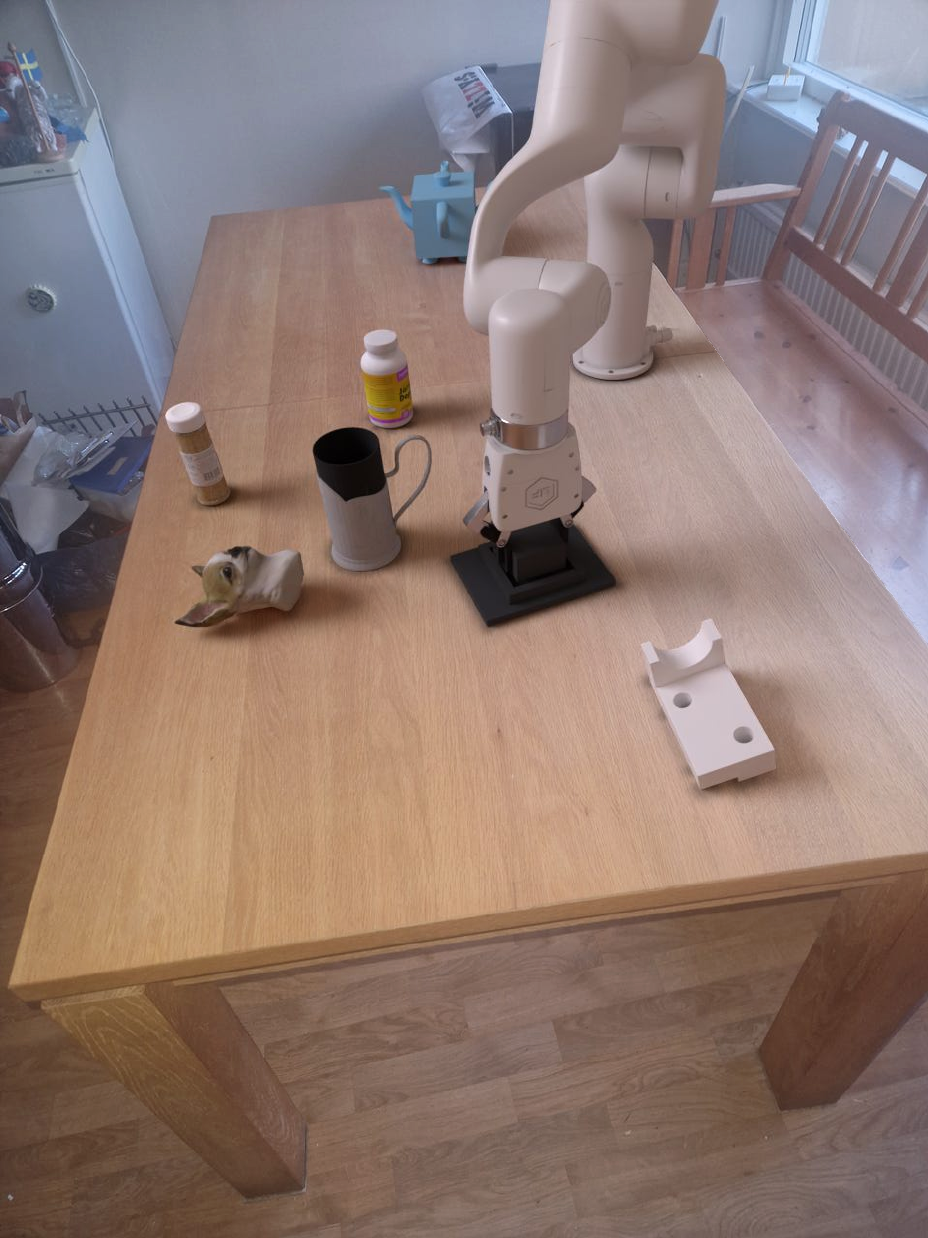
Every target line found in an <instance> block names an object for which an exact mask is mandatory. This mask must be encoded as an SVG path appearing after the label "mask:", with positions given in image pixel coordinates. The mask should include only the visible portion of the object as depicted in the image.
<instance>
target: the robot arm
mask: <svg viewBox="0 0 928 1238" xmlns="http://www.w3.org/2000/svg"><path fill="white" fill-rule="evenodd" d="M719 2H720V0H550V2H549V7H548V8H549V9H548V17H547V23H546V30H545V36H544V43H543V50H542V57H541V64H540V72H539V77H538V83H537V91H536V98H535V104H534V112H533V118H532V126H531V131H530V135H529V138H528V139H527V141H526V142H525V144H524V145H523V146H522V147H521V148H520V150H518V151H517V152H516V153H515V155H513V157H512V158H511V159H510V160H508V162H506V164H505V165H504V166H503V167H502V169H501V170H500V171H499V173H498V174H497V175H496V176H495V178H494V179H493V180H494V181H493V180H492V181H493V182H492V184H491V185H490V187H489V188H488V190H487V192H486V191H485V192H486V193H485V192H484V195H483V197H482V199H481V201H480V202H479V204H480V205H479V204H478V205H479V207H478V210H477V212H476V215H475V217H474V221H473V225H472V229H471V235H470V242H469V249H468V256H467V262H465V263H466V264H465V271H464V279H463V291H462V293H463V295H462V304H463V305H462V307H463V312H464V316H465V319H466V321H467V323H468V325H469V326H470V328H472V330H474V331H475V332H476V333H479V334H481V335H484V336H487V337H488V345H489V346H488V347H489V349H488V350H489V367H490V368H489V371H490V392H491V408H489V415H490V416H489V418H488V419H486V421H483V422H479V432H480V435H481V436H482V437H487V438H486V441H485V447H484V452H483V461H482V475H481V476H482V477H481V496H480V498H479V499H478V500H477V501H476V502H475V503H474V505H473V506H472V507H471V509H470V510H469V511H468V512H467V513H466V515H465V516H464V517H463V519H462V522H463V524H464V526H465V527H466V529H468V530H469V531H471V532H473V533H475V534H477V535H481V537H482V538H484V539H486V540H488V541H492V542H493V556H494V559H495V561H496V563H497V564H501V565H502V567H503V568H504V570H505V571H506V573H508V572H511V570H512V546H511V544H510V542H509V541H508V539H509V536H510V534H511V531H514V530H518V529H521V528H525V527H528V526H532V525H535V524H538V523H542V522H545V521H549V522H550V524H551V525H552V526H553V528H554V529H555V530H556V532H557V533H558V534H559V536H561V538H562V539H563V541H564V542H565V543H568V532H569V527H570V526H572V524H574V519H575V517H576V516H577V515H578V514H579V513H580V512H581V511H582V510H583V508H584V506H585V503H587V502H588V501H589V500H590V499H591V497H592V496H593V495H594V494H595V493H596V491H597V487H596V486H595V485H594V484H593V482H592V481H591V480H590V479H588V478H586V477H585V476H584V475H582V473H583V472H582V462H581V454H580V446H579V445H580V444H579V440H578V435H577V431H576V427H575V426H574V425H573V424H572V423H571V422H570V421H569V411H570V410H569V409H570V408H569V407H570V402H569V401H570V384H571V383H570V382H571V381H570V380H571V379H570V378H571V357H572V363H573V367H575V369H576V370H577V371H579V372H581V374H583V375H586V376H588V377H590V378H594V379H598V380H606V381H619V380H620V381H621V380H628V379H632V378H635V377H638V376H639V375H642V374H644V373H645V372H647V371H648V370H649V369H650V368H651V366H652V364H653V362H654V352H653V350H652V348H653V347H655V346H656V344H659V343H660V344H661V343H666V342H669V341H672V339H673V335H674V334H673V330H672V329H671V327H666V328H663V329H659V330H658V328H657V325H656V324H653V325H648V326H647V323H648V313H649V303H650V296H651V295H650V294H651V285H652V274H653V265H654V256H655V248H654V242H653V238H652V236H651V233H650V231H649V229H648V228H647V226H646V224H645V222H644V221H643V220H644V219H645V220H646V219H654V220H656V219H657V220H676V221H677V220H678V221H686V220H688V221H689V220H695V219H698V218H700V217H701V216H703V215H704V214H705V213H706V212H707V211H708V209H709V208H710V206H711V204H712V202H713V199H714V195H715V192H716V188H717V187H716V186H717V181H718V174H719V165H720V158H721V157H720V156H721V148H722V140H723V133H724V132H723V131H724V122H725V113H726V107H727V106H726V105H727V86H728V85H727V83H728V82H727V74H726V70H725V67H724V64H723V63H722V62H721V60H720V59H719V58H718V57H716V56H714V55H712V54H708V53H703V52H701V50H702V49H703V46H704V44H705V41H706V39H707V36H708V35H709V34H708V33H709V31H710V28H711V25H712V22H713V19H714V16H715V12H716V10H717V7H718V6H719ZM700 52H701V53H700ZM582 178H583V189H584V197H585V198H584V199H585V207H586V219H587V248H586V249H587V250H586V261H581V260H568V259H566V260H565V259H553V258H552V259H551V258H545V257H544V258H543V257H531V256H530V257H528V256H517V255H516V256H515V255H514V256H513V255H503V250H504V245H505V242H506V238H507V235H508V233H509V231H510V229H511V227H512V226H513V224H514V223H515V221H516V219H517V218H518V217H519V216H520V215H521V214H522V213H523V212H524V211H525V210H526V209H527V208H528V207H529V206H530V205H532V204H533V203H535V202H536V201H538V200H539V199H541V198H543V197H544V196H546V195H548V194H550V193H552V192H554V191H556V190H558V189H561V188H562V187H565V186H566V185H569V184H570V183H573V182H575V181H578V180H580V179H582ZM489 513H490V514H489ZM488 514H489V515H490V518H491V519H490V522H489V521H486V520H485V518H486V517H487V516H488Z"/></svg>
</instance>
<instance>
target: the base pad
mask: <svg viewBox="0 0 928 1238" xmlns="http://www.w3.org/2000/svg"><path fill="white" fill-rule="evenodd" d="M449 557H450V563H451V565H452V567H453V568H454V570H455V572H456V575H458V577H459V579H460V581H461V583H462V584H463V587H464V588H465V590H466V592H467V594H468V595H469V597H470V599H471V600H472V602H473V604H474V606H475V607H476V609H477V612H479V615H480V617H481V618H482V620H483V623H484V624H485V625H486V627H487V628H488V627H492V626H494V625H498V624H501V623H504V622H507V621H510V620H513V619H516V618H520V617H523V616H525V615H529V614H532V613H534V612H538V611H542V610H544V609H548V608H551V607H554V606H557V605H560V604H564V603H567V602H569V601H573V600H575V599H578V598H582V597H584V596H587V595H588V596H589V595H591V594H594V593H597V592H601V591H603V590H607V589H609V588H613V587H616V586H617V585H616V584H617V579H616V577H615V576H614V575H613V574H612V573H611V571H610V570H609V569H608V567H607V566H606V564H605V563H604V562H603V561H602V559H601V558H600V556H599V555H598V554H597V552H596V551H595V550H594V549H593V548H592V546H591V544H589V542H588V541H587V540H586V538H585V537H584V536H583V535H582V533H581V532H580V530H579V529H578V528H577V526H576V525H575V524H574V523H573V524H572V526H570V527H569V532H568V543H566V565H565V568H562V569H558V570H555V571H552V572H549V573H546V574H542V575H539V576H536V577H533V578H529V579H526V580H523V581H520V582H517V581H516V579H515V578H514V576H513V574H512V573H511V572H508V573H506V571H505V570H504V568H503V567H502V565H501V564H497V563H496V561H495V559H494V556H493V542H492V541H490V540H488V541H486V542H482V543H479V544H478V545H477V547H474V548H471V549H467V550H464V551H461V552H457V553H454V554H451V555H450V556H449Z"/></svg>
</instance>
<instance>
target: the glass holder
mask: <svg viewBox="0 0 928 1238" xmlns="http://www.w3.org/2000/svg"><path fill="white" fill-rule="evenodd" d="M416 440H417V441H418V440H420V441H421V442H424V443H425V446H426V450H427V461H426V467H425V471H424V474H423V477H422V479H421V480H420V483H419V485H418V486H417V487H416V489H415V490H414V492H413V493H412V494H411V496H410V497H409V498H408V499H407V501H405V503H403V505H402V506H401V507H400V508H399V510H398V511H397V512H396V513H395V514H393V508H392V502H391V495H390V490H389V484H388V479H389V478H391V477H394V476H396V475H397V473H398V472H399V470H400V453H401V450H402V449H403V447H404V446H405V445H406V444H407V443H409V442H410V441H416ZM380 443H381V442H380V438H379V437H378V435H377V434H376V433H375V432H373V431H372V430H369V429H367V428H364V427H359V426H357V427H356V426H348V427H341V428H337V429H333V430H331V431H328V432H326V433H324V434H323V435H321V436H320V437H319V438H317V440H316V441H314V444H313V445H312V455H313V460H314V464H315V475H316V479H317V483H318V487H319V491H320V496H321V500H322V504H323V508H324V512H325V517H326V521H327V526H328V529H329V534H330V537H331V542H332V545H331V549H330V551H331V553H330V554H331V557H332V560H333V561H334V562H335V563H336V564H337V565H338V566H339V567H341V568H342V569H345V570H348V571H351V572H352V571H353V572H369V571H375V570H377V569H380V568H383V567H385V566H387V565H389V564H390V563H391V562H393V561H394V560H395V559H396V558H397V556H398V555H399V554H400V551H401V549H402V541H401V537H400V535H398V533H397V532H396V528H397V527H398V525H397V522H398V520H399V519H400V517H401V516H402V515H403V514H404V513H405V512H406V511H407V509H408V508H409V507H410V506H411V505H412V504H413V503H414V501H415V500H416V499H417V498H418V497H419V495H420V494H421V493H422V492H423V490H424V488H425V487H426V484H427V482H428V480H429V477H430V473H431V469H432V464H433V458H432V457H433V455H432V448H431V444H430V443H429V441H428V440H427V439H426V437H424V436H422V435H419V434H411V435H407V436H405V437H403V438H402V439H401V440H400V441H399V442H398V444H397V446H396V447H395V450H394V468H393V469H392V470H391V471H388V472H385V468H384V463H383V455H382V450H381V444H380Z"/></svg>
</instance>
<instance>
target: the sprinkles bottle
mask: <svg viewBox="0 0 928 1238" xmlns="http://www.w3.org/2000/svg"><path fill="white" fill-rule="evenodd" d="M164 416H165V420H166V423H167V426H168V428H169V430H170V432H172V435H173V437H174V440H175V442H176V445H177V447H178V451H179V455H180V457H181V459H182V462H183V464H184V467H185V469H186V472H187V474H188V477H189V480H190V482H191V484H192V486H193V489H194V491H195V494H196V499H197V501H198V502H199V503H200V504H201V505H203V506H217V505H219V504H222V503H223V502H225V501H226V500H227V499H229V497H230V495H231V489H230V487H229V485H228V484H227V480H226V478H225V475H224V471H223V467H222V464H221V460H220V458H219V455H218V452H217V451H216V448H215V445H214V442H213V439H212V437H211V434H210V431H209V429H208V426H207V420H206V419H207V418H206V416H205V413H204V410H203V407H202V406H201V405H200V404H199V403H197V402H191V401H186V402H181V403H178V404H175V405H173V406H171V407H170V408H169V409H168V410H167V411H166V413H165V415H164Z"/></svg>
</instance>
